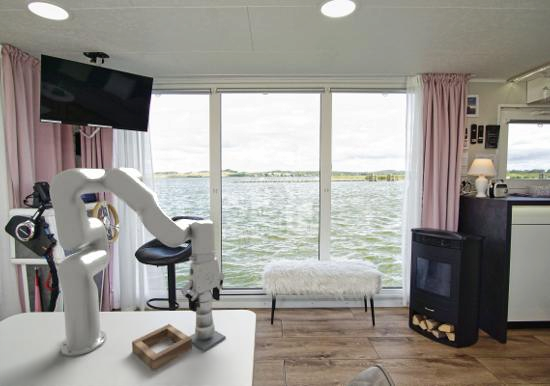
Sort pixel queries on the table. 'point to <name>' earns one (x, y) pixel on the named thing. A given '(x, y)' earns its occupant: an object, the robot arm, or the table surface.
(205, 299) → the plastic bottle
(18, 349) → the table surface
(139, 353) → the wooden frame
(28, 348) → the table surface
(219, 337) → the rubber mat
